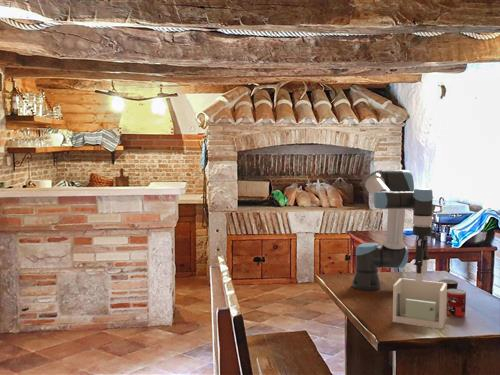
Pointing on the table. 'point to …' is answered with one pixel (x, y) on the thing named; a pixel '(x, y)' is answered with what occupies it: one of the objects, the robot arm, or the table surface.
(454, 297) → the canned food
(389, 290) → the table surface
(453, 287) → the coffee mug
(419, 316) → the door
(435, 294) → the cabinet
